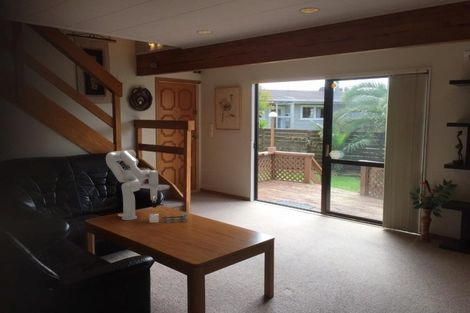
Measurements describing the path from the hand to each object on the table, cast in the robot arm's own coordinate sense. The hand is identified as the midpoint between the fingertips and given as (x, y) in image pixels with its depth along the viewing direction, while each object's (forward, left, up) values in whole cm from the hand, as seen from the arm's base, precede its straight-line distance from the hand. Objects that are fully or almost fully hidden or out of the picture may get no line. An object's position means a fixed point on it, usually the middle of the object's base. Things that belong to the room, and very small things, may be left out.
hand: (154, 206), depth 316 cm
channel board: (+15, 0, -13) cm, 20 cm away
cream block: (-1, 0, -13) cm, 13 cm away
